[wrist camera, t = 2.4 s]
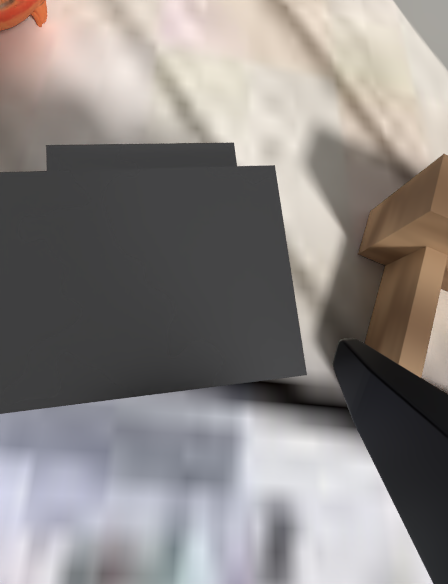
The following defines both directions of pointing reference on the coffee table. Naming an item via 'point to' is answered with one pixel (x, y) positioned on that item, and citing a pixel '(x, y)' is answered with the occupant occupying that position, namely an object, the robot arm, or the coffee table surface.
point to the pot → (21, 12)
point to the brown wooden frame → (409, 265)
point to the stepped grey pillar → (142, 275)
